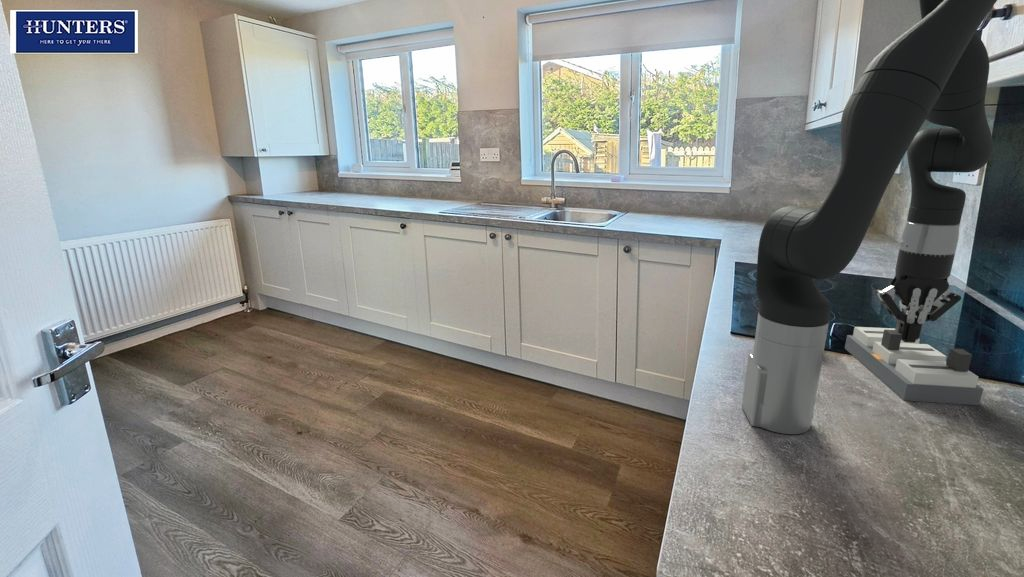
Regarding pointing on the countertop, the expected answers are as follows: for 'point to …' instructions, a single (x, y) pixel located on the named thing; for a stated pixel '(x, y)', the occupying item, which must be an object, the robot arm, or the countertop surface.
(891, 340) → the block
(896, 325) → the block
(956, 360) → the block
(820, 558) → the countertop surface
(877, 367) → the box
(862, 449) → the countertop surface
